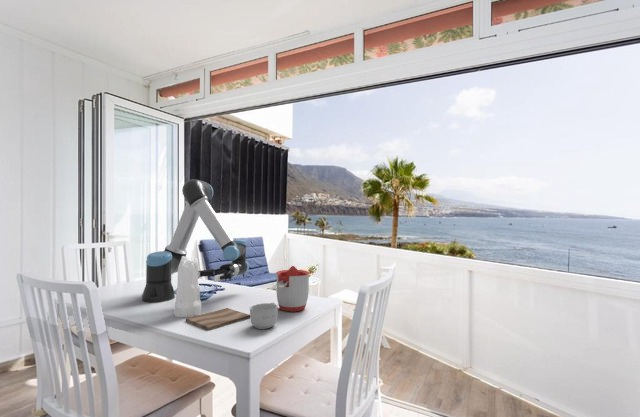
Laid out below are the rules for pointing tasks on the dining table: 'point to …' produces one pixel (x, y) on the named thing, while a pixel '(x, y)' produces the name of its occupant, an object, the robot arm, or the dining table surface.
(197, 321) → the board
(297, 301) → the citrus juicer
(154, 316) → the dining table surface
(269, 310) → the teacup
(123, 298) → the dining table surface
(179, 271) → the decorative vase
